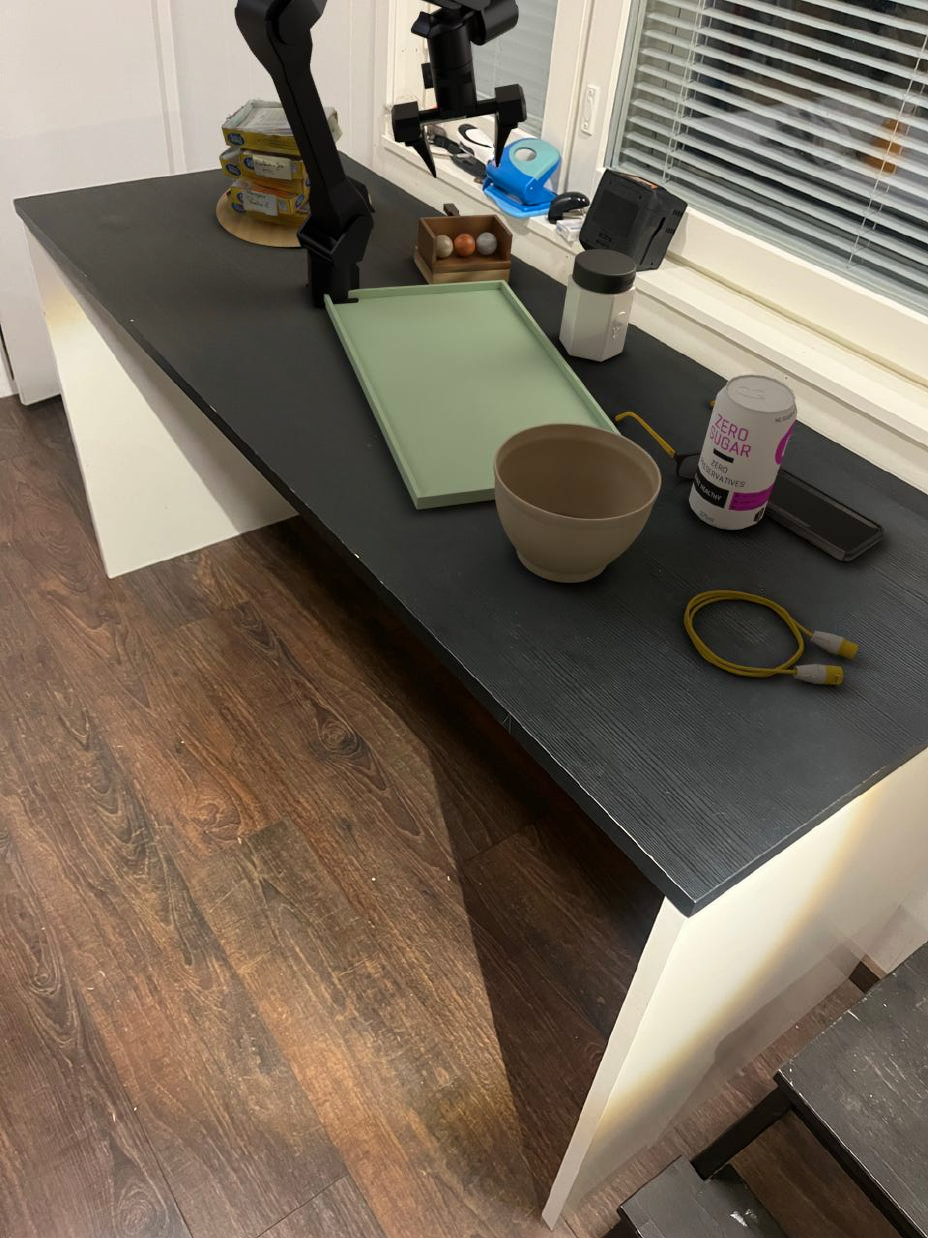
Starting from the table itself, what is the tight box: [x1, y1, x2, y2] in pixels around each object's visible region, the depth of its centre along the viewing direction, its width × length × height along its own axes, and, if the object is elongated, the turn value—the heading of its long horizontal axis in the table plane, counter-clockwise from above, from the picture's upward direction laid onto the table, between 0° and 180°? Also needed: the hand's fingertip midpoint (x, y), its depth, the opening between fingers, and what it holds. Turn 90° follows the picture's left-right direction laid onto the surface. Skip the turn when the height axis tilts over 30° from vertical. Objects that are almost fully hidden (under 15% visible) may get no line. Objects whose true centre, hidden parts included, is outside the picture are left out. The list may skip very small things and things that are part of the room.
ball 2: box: [454, 234, 475, 257], centre depth 142 cm, size 3×3×3 cm
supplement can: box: [688, 373, 798, 531], centre depth 101 cm, size 8×8×15 cm
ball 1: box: [436, 235, 453, 258], centre depth 141 cm, size 3×3×3 cm
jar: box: [558, 248, 638, 363], centre depth 128 cm, size 9×8×12 cm
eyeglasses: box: [614, 399, 716, 480], centre depth 114 cm, size 14×14×4 cm
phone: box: [763, 466, 885, 562], centre depth 106 cm, size 8×1×15 cm
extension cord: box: [683, 589, 859, 686], centre depth 90 cm, size 12×16×2 cm
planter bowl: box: [493, 423, 662, 584], centre depth 95 cm, size 16×16×11 cm
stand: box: [413, 245, 511, 286], centre depth 145 cm, size 12×10×2 cm
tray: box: [324, 280, 623, 510], centre depth 122 cm, size 27×49×2 cm, turn 18°
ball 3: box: [476, 233, 497, 256], centre depth 143 cm, size 3×3×3 cm
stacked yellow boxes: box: [215, 97, 372, 248], centre depth 150 cm, size 25×25×17 cm
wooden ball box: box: [417, 202, 514, 274], centre depth 143 cm, size 12×13×5 cm
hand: (466, 171), depth 140 cm, fingers open, 9 cm apart
